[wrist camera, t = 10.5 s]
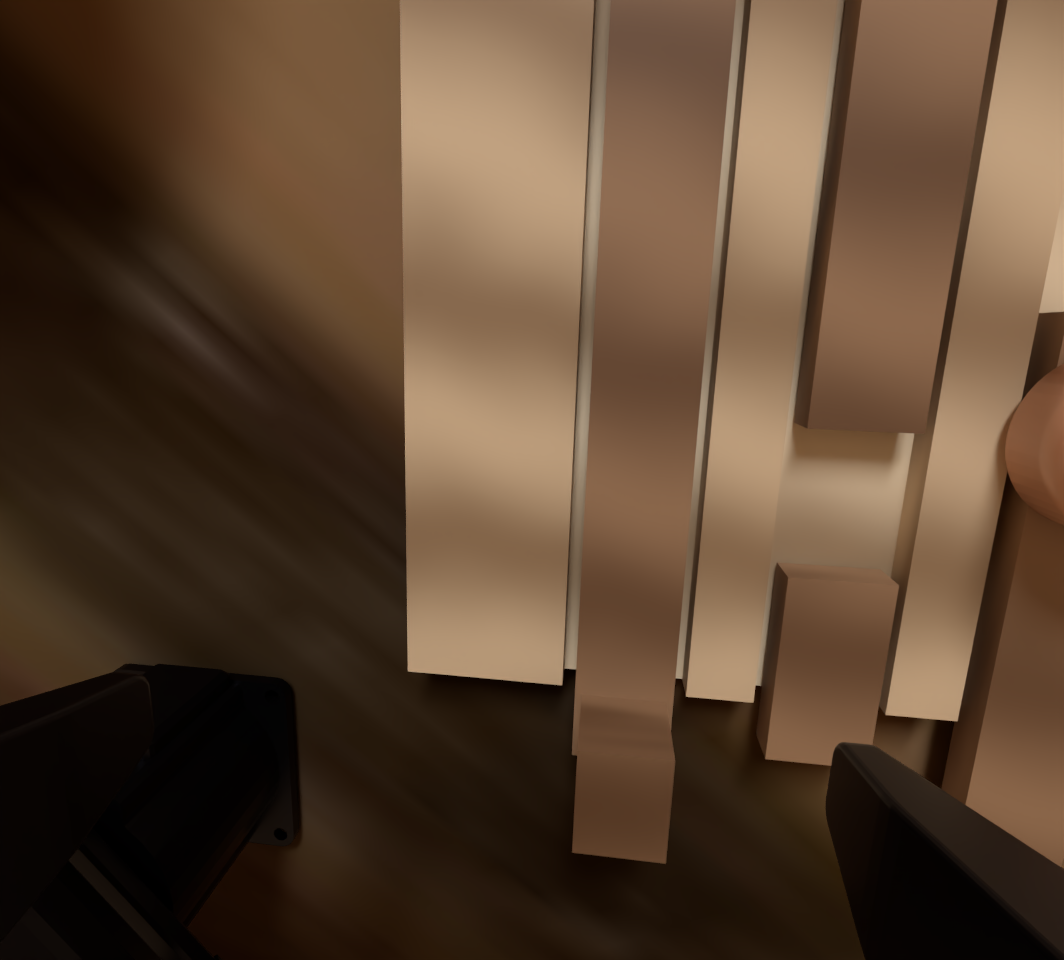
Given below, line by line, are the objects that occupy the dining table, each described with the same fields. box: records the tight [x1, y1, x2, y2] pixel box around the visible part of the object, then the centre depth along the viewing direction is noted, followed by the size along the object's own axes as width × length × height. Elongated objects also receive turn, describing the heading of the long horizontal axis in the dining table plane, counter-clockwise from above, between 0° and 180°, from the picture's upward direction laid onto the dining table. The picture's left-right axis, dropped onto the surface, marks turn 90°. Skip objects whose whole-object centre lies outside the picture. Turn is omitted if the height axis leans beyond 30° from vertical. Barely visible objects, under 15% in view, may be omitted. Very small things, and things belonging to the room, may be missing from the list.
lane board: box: [400, 0, 1064, 766], centre depth 17 cm, size 22×24×2 cm
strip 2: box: [941, 312, 1064, 867], centre depth 17 cm, size 22×3×4 cm, turn 178°
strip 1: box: [572, 0, 736, 864], centre depth 16 cm, size 22×3×4 cm, turn 178°
